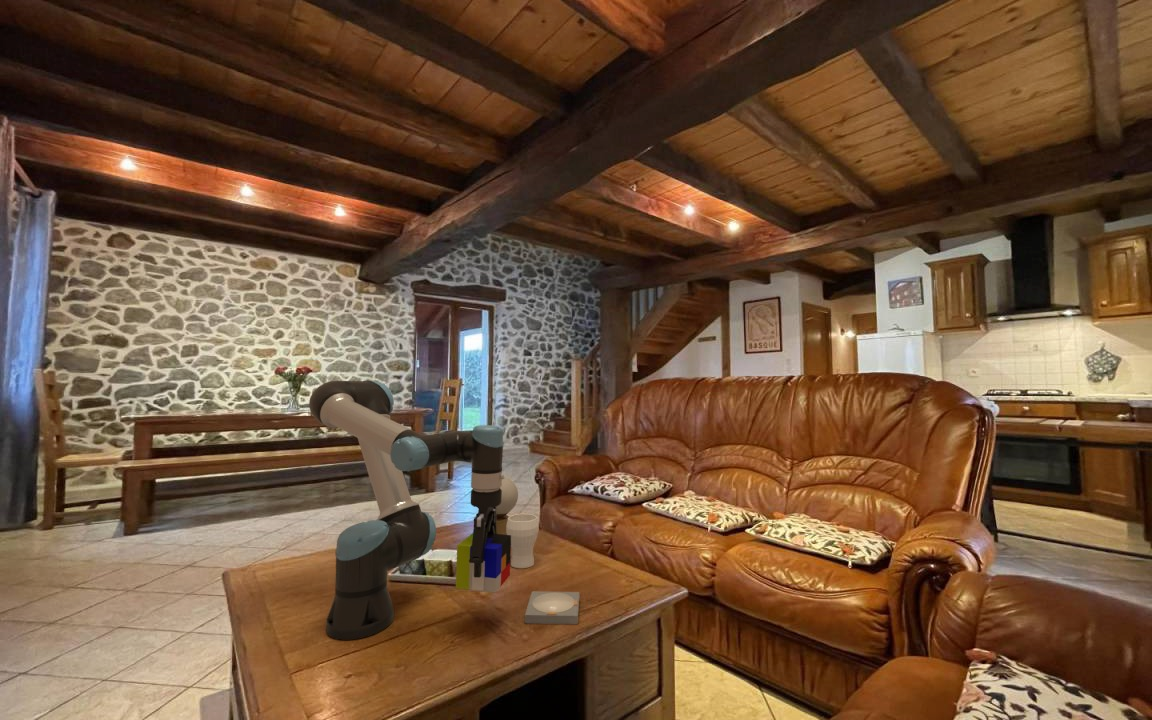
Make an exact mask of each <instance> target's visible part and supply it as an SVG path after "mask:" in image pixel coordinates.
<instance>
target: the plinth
mask: <svg viewBox="0 0 1152 720" xmlns="http://www.w3.org/2000/svg"><path fill="white" fill-rule="evenodd" d="M579 610H580V591H538V590H537V591H533V590H532V591H531V594H530V596H529V599H528V604H527V607H526V610H525V613H524V624H534V625H537V624H538V625H539V624H540V625H541V624H542V625H543V624H544V625H545V624H547V625H548V624H549V625H553V624H554V625H578V623H579Z"/></svg>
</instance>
